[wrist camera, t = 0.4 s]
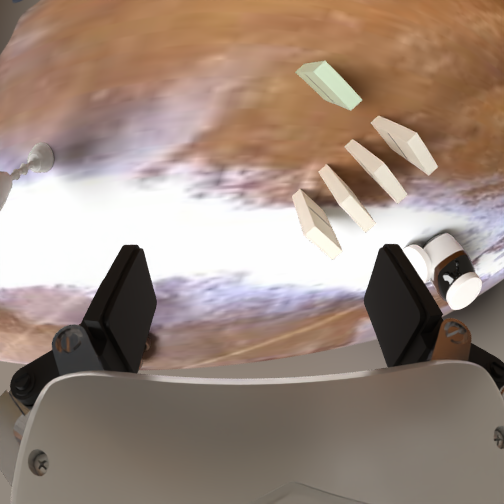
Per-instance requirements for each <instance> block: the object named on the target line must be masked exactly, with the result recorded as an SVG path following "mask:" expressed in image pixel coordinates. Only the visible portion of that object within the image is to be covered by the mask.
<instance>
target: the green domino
mask: <svg viewBox="0 0 504 504" xmlns="http://www.w3.org/2000/svg"><path fill="white" fill-rule="evenodd" d="M295 73H297V74H298V75H299V76H300V77H301V78H302V79H303V80H304V81H305V82H306V83H307V84H308V85H310V86H311V87H312V88H313V89H314V90H315V91H316V92H317V93H318V94H319V95H320V96H321V97H322V98H323V99H324V100H326V101H328V102H331V103H333V104H336V105H338V106H341V107H343V108H346V109H348V110H350V111H351V110H352V109H353V108H354V107H355V106H356V105H358V104H359V103H360V102H361V101H362V99H361V98H360V97H359V96H358V94H357V93H356V92H355V91H354V90H353V89H352V88H351V87H350V86H349V85H348V84H347V82H346V81H345V80H344V79H343V78H342V77H341V76H340V75H339V74H338V73H337V72H336V71H335V70H334V69H333V68H332V67H331V66H330V65H329V64H328V63H327V62H326V61H320V62H313V63H306V64H303V65H302V66H301V67H300V68H299V69H298V70H297V71H296V72H295Z"/></svg>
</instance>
